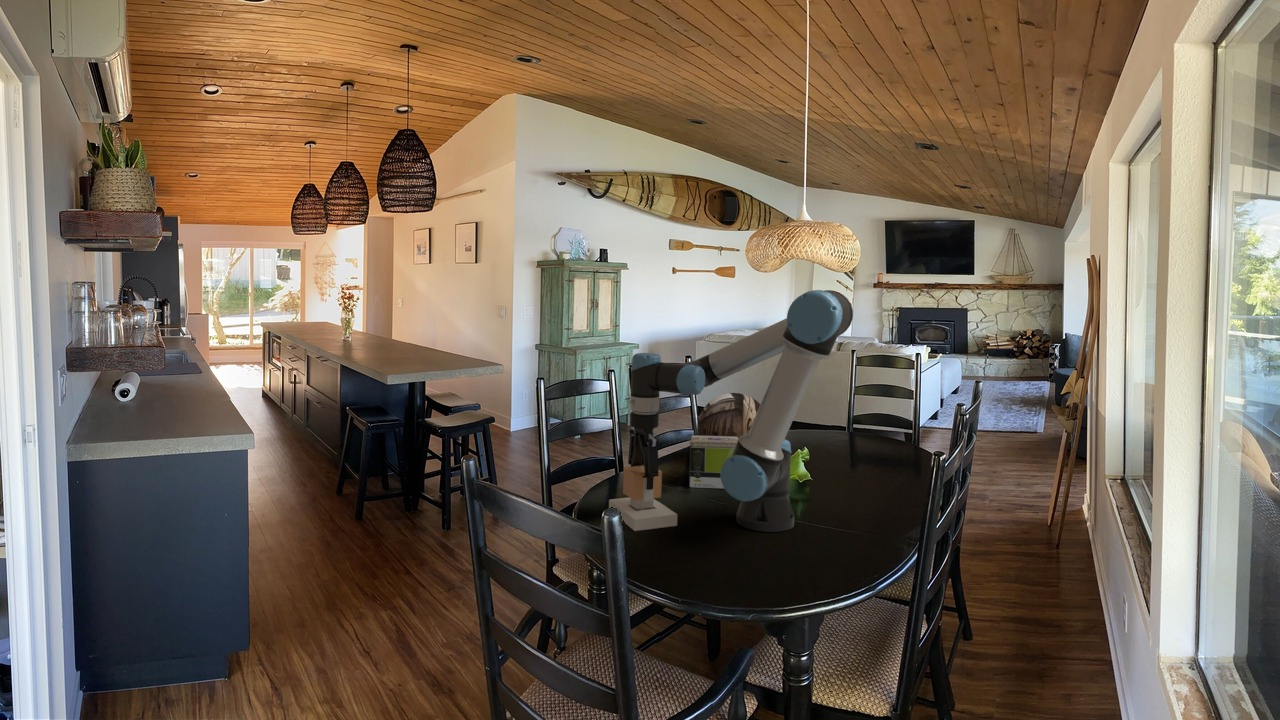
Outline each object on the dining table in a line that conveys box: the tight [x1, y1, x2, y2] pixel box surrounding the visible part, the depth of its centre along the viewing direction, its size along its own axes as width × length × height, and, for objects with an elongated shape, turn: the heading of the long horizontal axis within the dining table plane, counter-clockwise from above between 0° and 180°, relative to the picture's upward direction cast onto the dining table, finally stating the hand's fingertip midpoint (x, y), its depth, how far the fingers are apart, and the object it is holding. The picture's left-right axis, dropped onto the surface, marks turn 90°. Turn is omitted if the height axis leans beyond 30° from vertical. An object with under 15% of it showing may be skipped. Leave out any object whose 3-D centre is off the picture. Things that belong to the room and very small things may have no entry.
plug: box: [622, 465, 663, 509], centre depth 204 cm, size 7×8×10 cm
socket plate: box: [608, 497, 678, 532], centre depth 205 cm, size 18×12×3 cm, turn 24°
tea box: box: [689, 434, 738, 490], centre depth 237 cm, size 15×10×15 cm, turn 84°
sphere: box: [696, 392, 761, 440], centre depth 261 cm, size 25×25×25 cm
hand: (641, 496), depth 204 cm, fingers closed on plug, 7 cm apart
